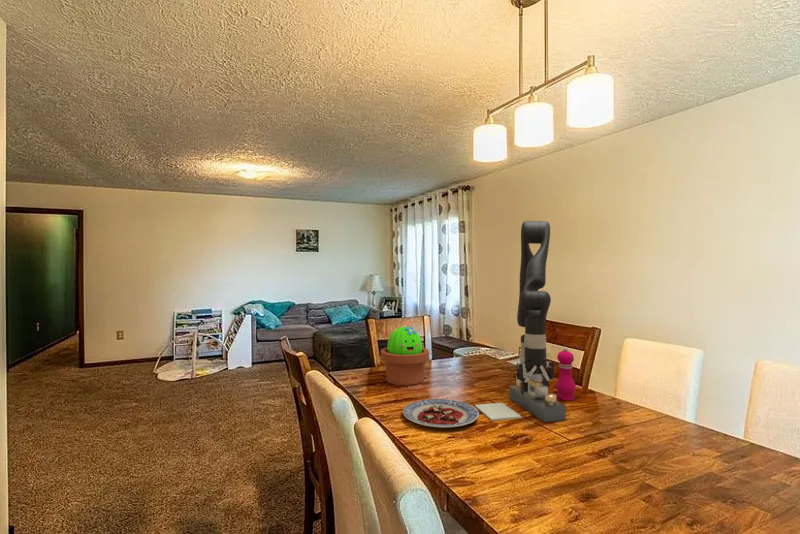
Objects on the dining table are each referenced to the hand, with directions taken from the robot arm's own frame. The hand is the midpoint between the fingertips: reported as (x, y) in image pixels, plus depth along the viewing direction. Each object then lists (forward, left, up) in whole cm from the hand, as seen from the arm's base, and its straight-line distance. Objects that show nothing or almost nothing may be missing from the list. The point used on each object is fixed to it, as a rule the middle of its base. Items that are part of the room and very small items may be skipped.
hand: (535, 391), depth 143 cm
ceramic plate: (0, -36, -7) cm, 37 cm away
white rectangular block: (0, 0, -1) cm, 1 cm away
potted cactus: (-46, -38, -7) cm, 60 cm away
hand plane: (0, 0, -6) cm, 6 cm away
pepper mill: (-8, +18, -7) cm, 21 cm away
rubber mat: (0, -15, -6) cm, 16 cm away
